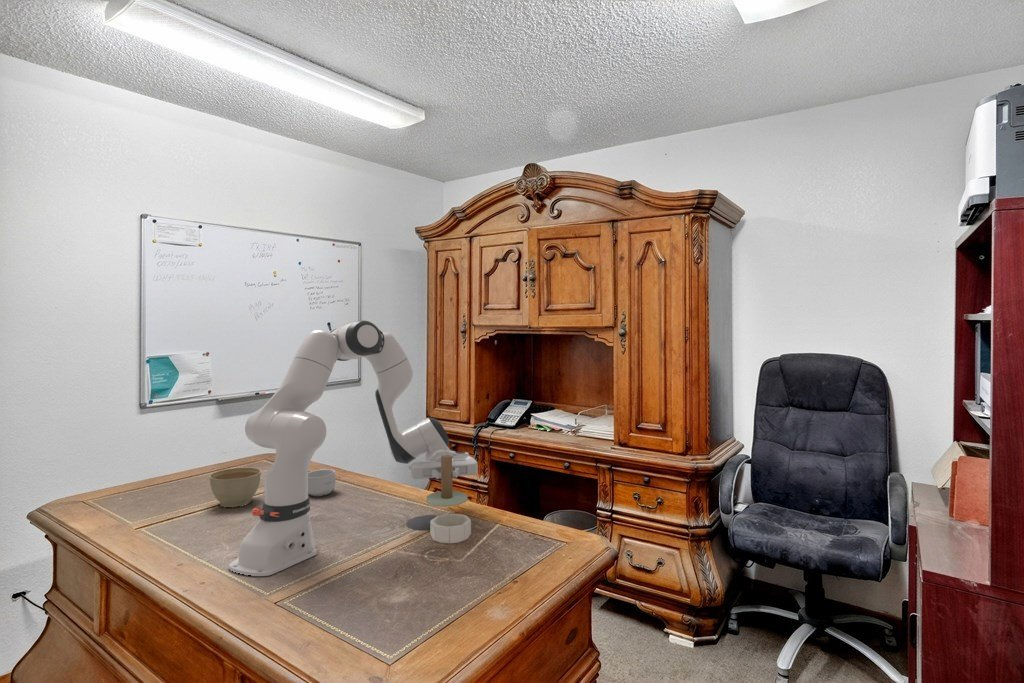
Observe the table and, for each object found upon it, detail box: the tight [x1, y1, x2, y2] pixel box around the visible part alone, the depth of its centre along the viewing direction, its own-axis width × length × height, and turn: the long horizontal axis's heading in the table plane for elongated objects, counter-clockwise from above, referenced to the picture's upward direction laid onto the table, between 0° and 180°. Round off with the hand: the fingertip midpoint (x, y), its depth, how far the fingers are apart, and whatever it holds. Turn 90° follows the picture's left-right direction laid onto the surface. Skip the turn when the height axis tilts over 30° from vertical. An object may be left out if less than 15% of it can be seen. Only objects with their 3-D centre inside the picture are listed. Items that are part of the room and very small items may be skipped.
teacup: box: [308, 468, 336, 497], centre depth 201 cm, size 14×11×8 cm
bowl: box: [429, 513, 472, 544], centre depth 158 cm, size 11×11×5 cm
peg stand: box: [426, 455, 468, 508], centre depth 159 cm, size 12×12×13 cm
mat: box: [405, 514, 438, 532], centre depth 168 cm, size 13×13×1 cm
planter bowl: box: [208, 467, 262, 508], centre depth 189 cm, size 16×16×11 cm
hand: (447, 475), depth 158 cm, fingers closed on peg stand, 3 cm apart
